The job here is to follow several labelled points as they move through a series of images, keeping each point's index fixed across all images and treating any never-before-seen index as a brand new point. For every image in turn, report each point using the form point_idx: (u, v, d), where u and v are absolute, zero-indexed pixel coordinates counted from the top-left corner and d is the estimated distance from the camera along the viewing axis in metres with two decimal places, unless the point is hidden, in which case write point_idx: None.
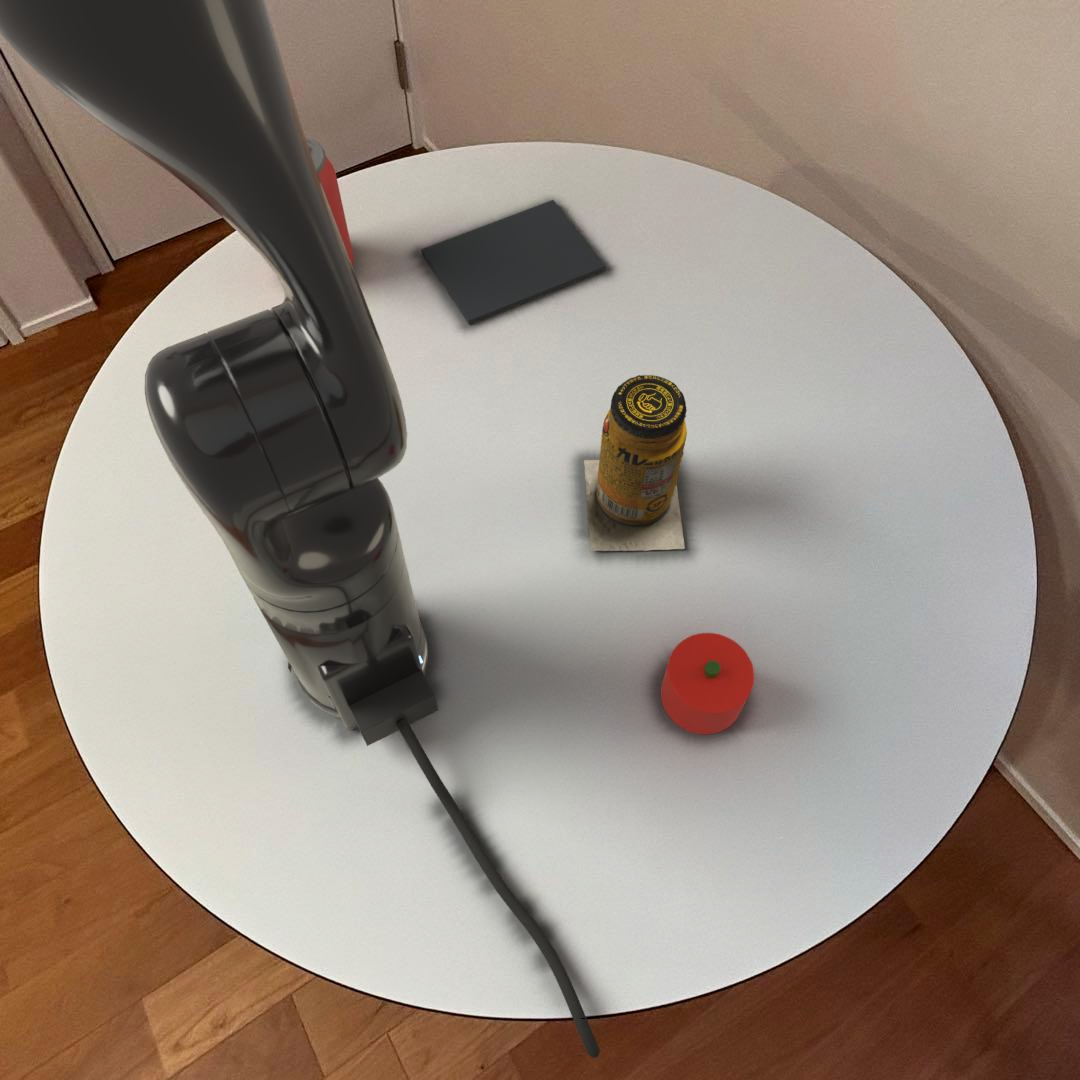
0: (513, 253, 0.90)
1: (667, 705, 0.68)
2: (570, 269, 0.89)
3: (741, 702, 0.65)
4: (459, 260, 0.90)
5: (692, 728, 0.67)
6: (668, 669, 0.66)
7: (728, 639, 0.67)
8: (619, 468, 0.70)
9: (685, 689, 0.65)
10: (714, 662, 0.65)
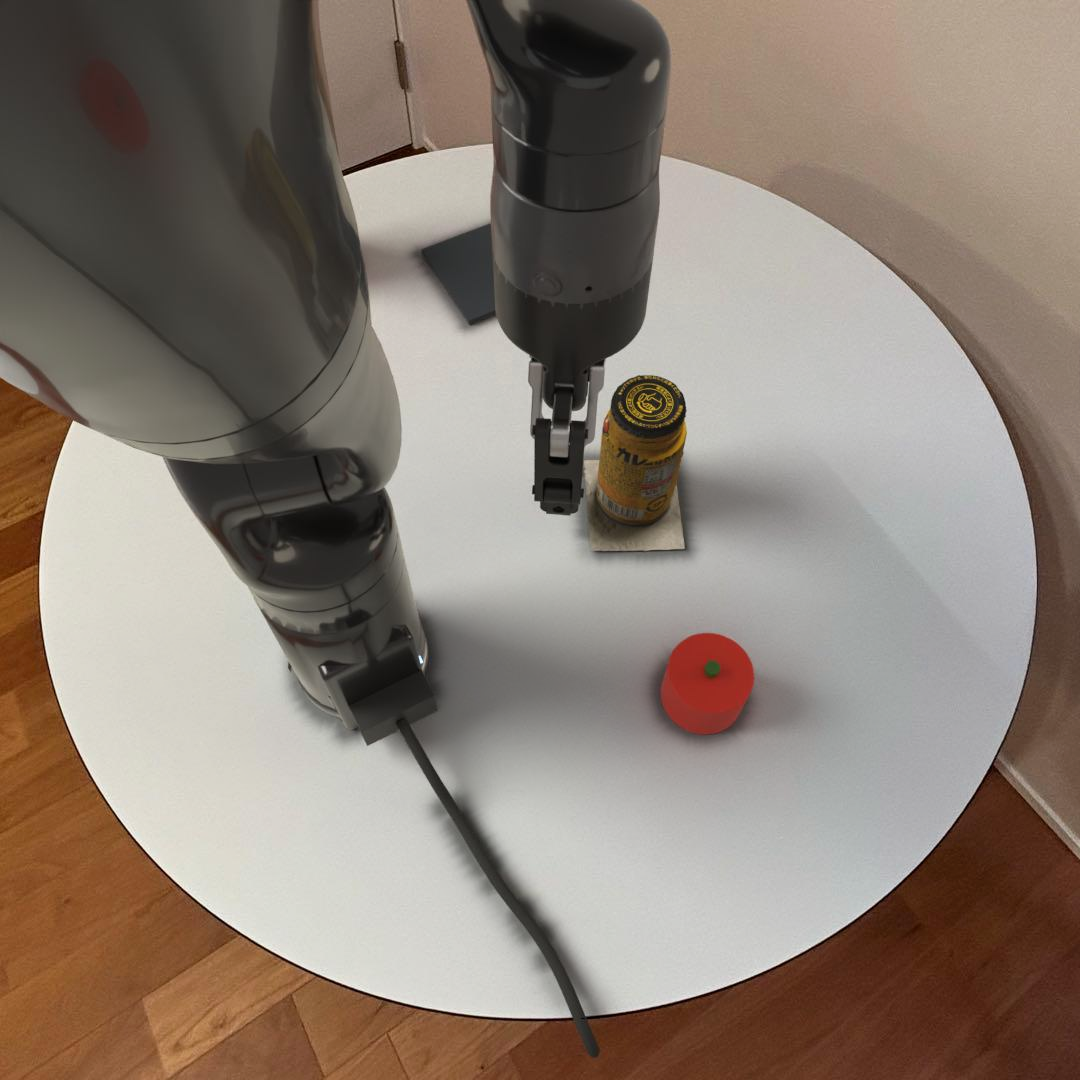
0: None
1: (667, 705, 0.68)
2: None
3: (741, 702, 0.65)
4: (459, 260, 0.90)
5: (692, 728, 0.67)
6: (668, 669, 0.66)
7: (728, 639, 0.67)
8: (619, 468, 0.70)
9: (685, 689, 0.65)
10: (714, 662, 0.65)
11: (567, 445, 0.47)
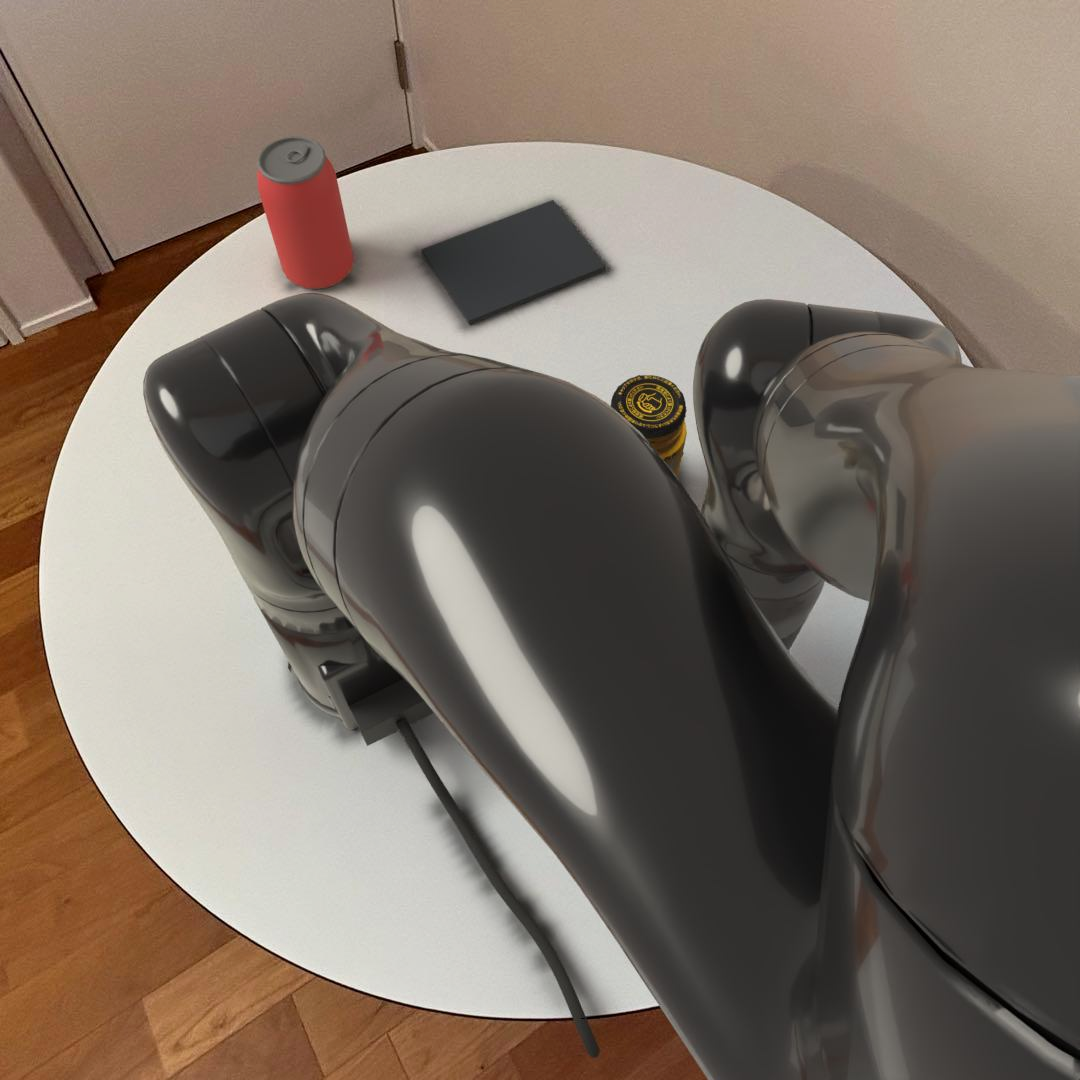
0: (513, 253, 0.90)
1: None
2: (570, 269, 0.89)
3: None
4: (459, 260, 0.90)
5: None
6: None
7: None
8: None
9: None
10: None
11: None
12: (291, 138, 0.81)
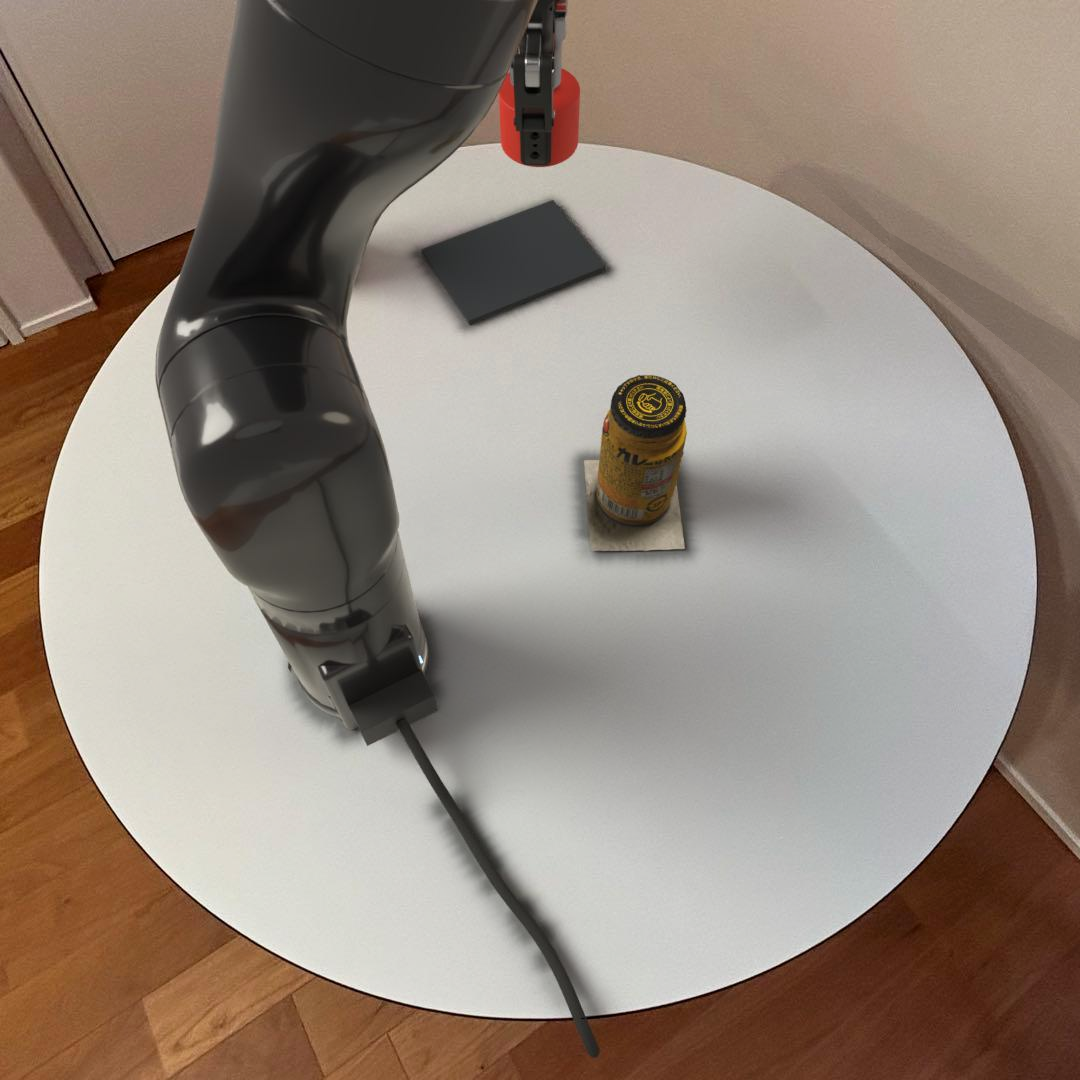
0: (513, 253, 0.90)
1: (503, 138, 0.72)
2: (570, 269, 0.89)
3: (564, 109, 0.68)
4: (459, 260, 0.90)
5: None
6: None
7: None
8: (619, 468, 0.70)
9: (513, 99, 0.69)
10: None
11: (538, 75, 0.61)
12: None
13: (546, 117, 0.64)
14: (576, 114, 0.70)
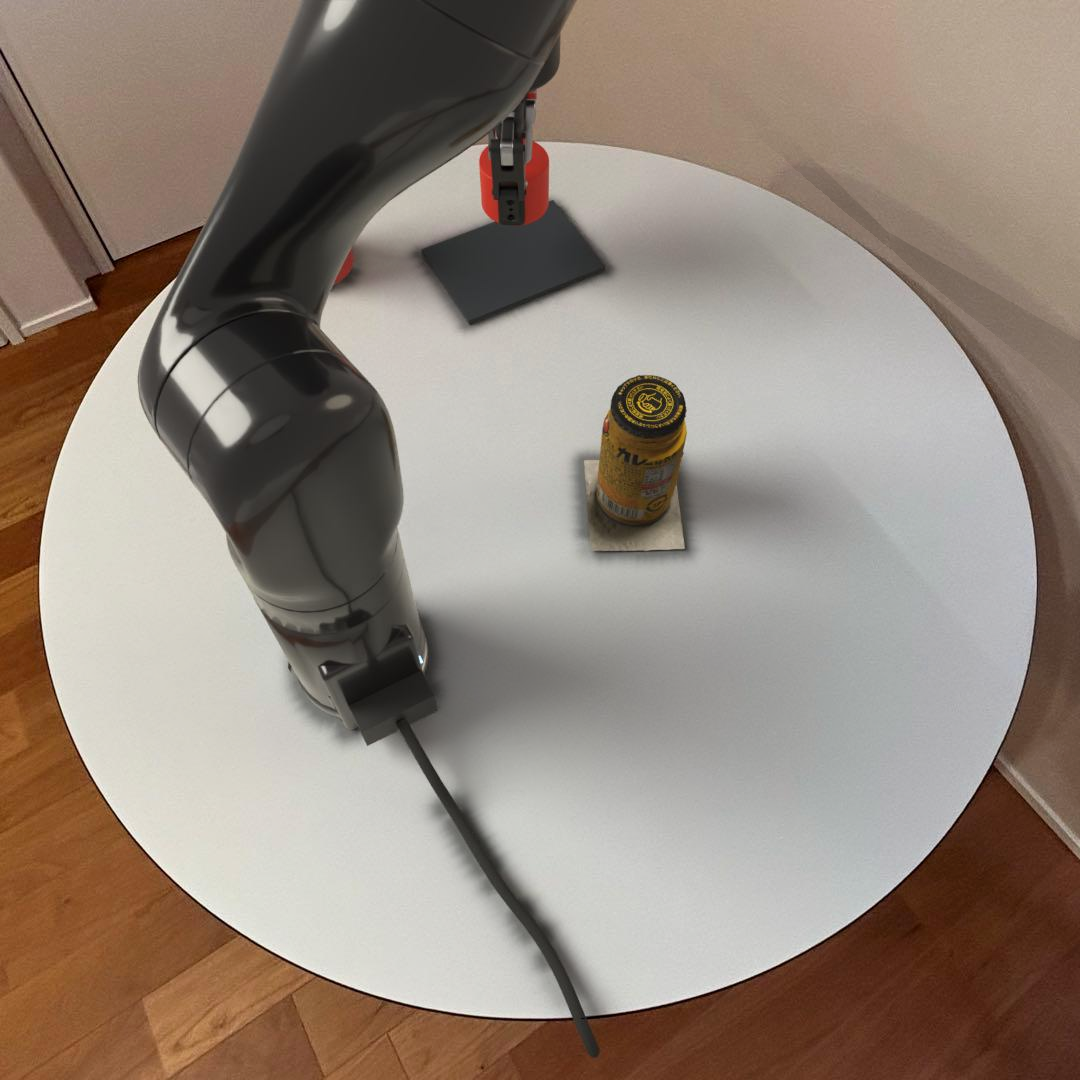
0: (513, 253, 0.90)
1: (483, 201, 0.83)
2: (570, 269, 0.89)
3: (535, 178, 0.80)
4: (459, 260, 0.90)
5: None
6: (479, 159, 0.81)
7: None
8: (619, 468, 0.70)
9: (491, 170, 0.80)
10: None
11: (512, 156, 0.73)
12: None
13: (519, 189, 0.76)
14: (546, 181, 0.81)
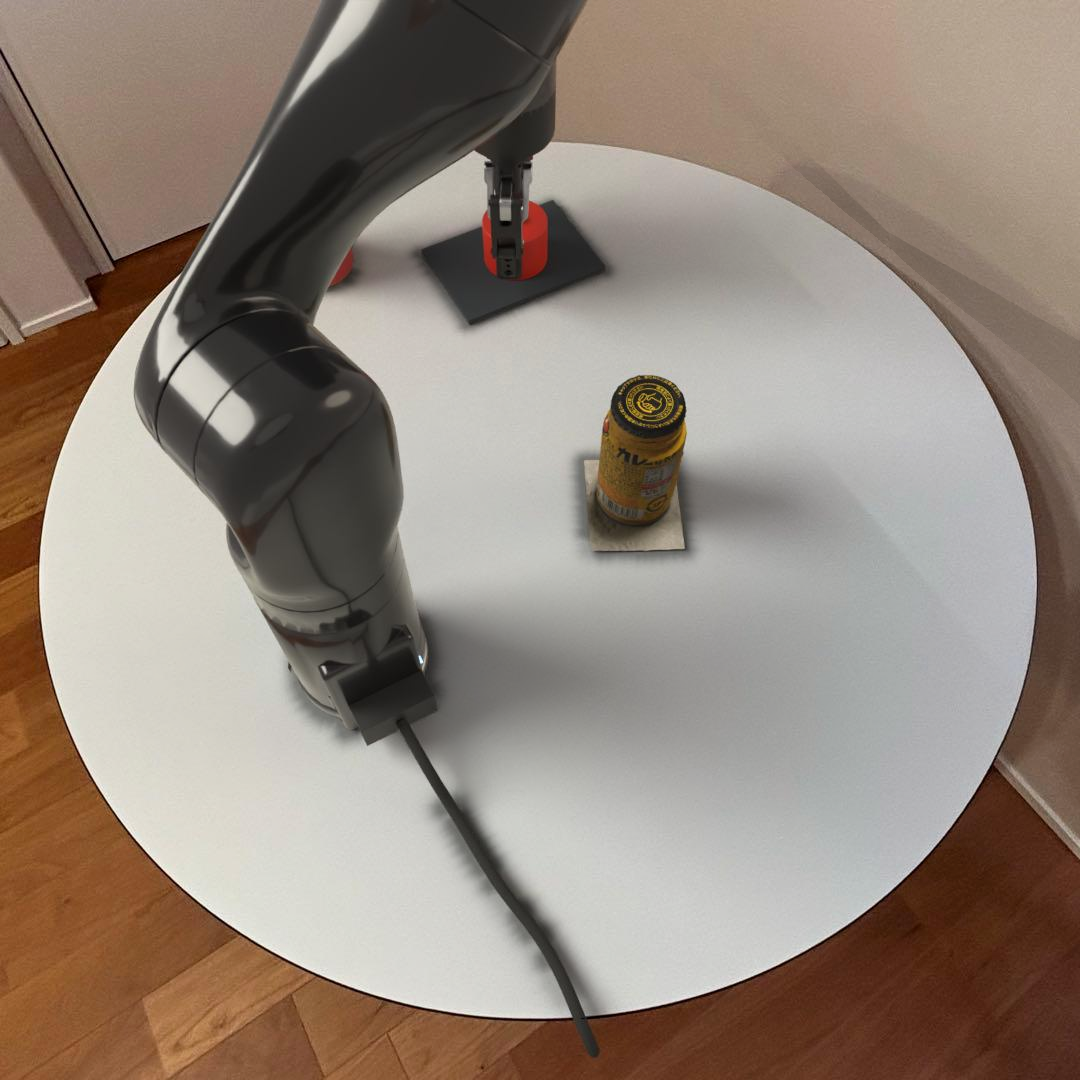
0: None
1: (486, 257, 0.89)
2: (570, 269, 0.89)
3: (535, 238, 0.85)
4: (459, 260, 0.90)
5: None
6: (482, 219, 0.87)
7: (530, 202, 0.88)
8: (619, 468, 0.70)
9: None
10: None
11: (510, 210, 0.77)
12: None
13: (517, 246, 0.80)
14: (545, 240, 0.87)
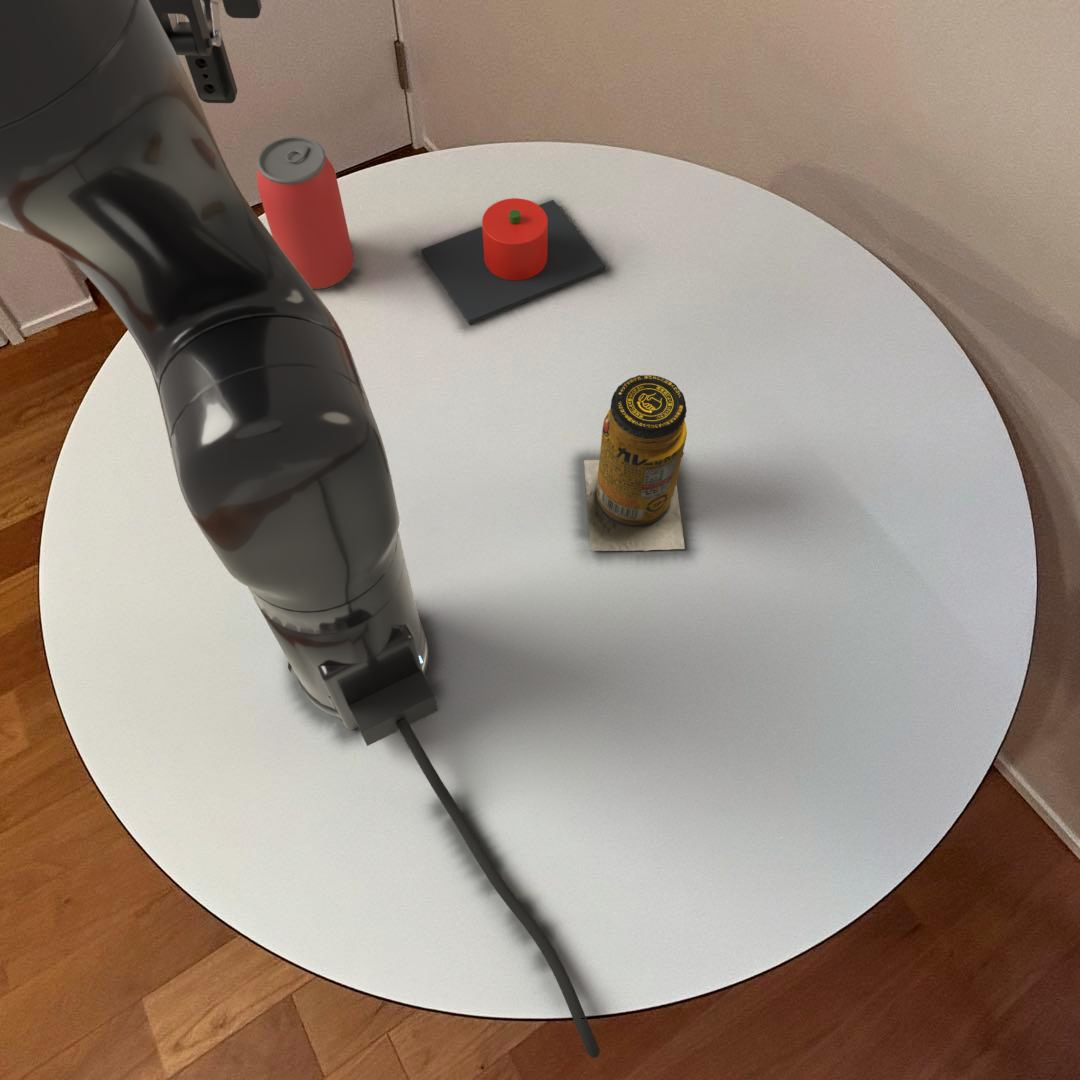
0: None
1: (486, 257, 0.89)
2: (570, 269, 0.89)
3: (535, 238, 0.85)
4: (459, 260, 0.90)
5: (504, 272, 0.88)
6: (482, 219, 0.87)
7: (530, 202, 0.88)
8: (619, 468, 0.70)
9: (493, 230, 0.86)
10: (516, 210, 0.86)
11: None
12: (291, 138, 0.81)
13: (193, 30, 0.52)
14: (545, 240, 0.87)
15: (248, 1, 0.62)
